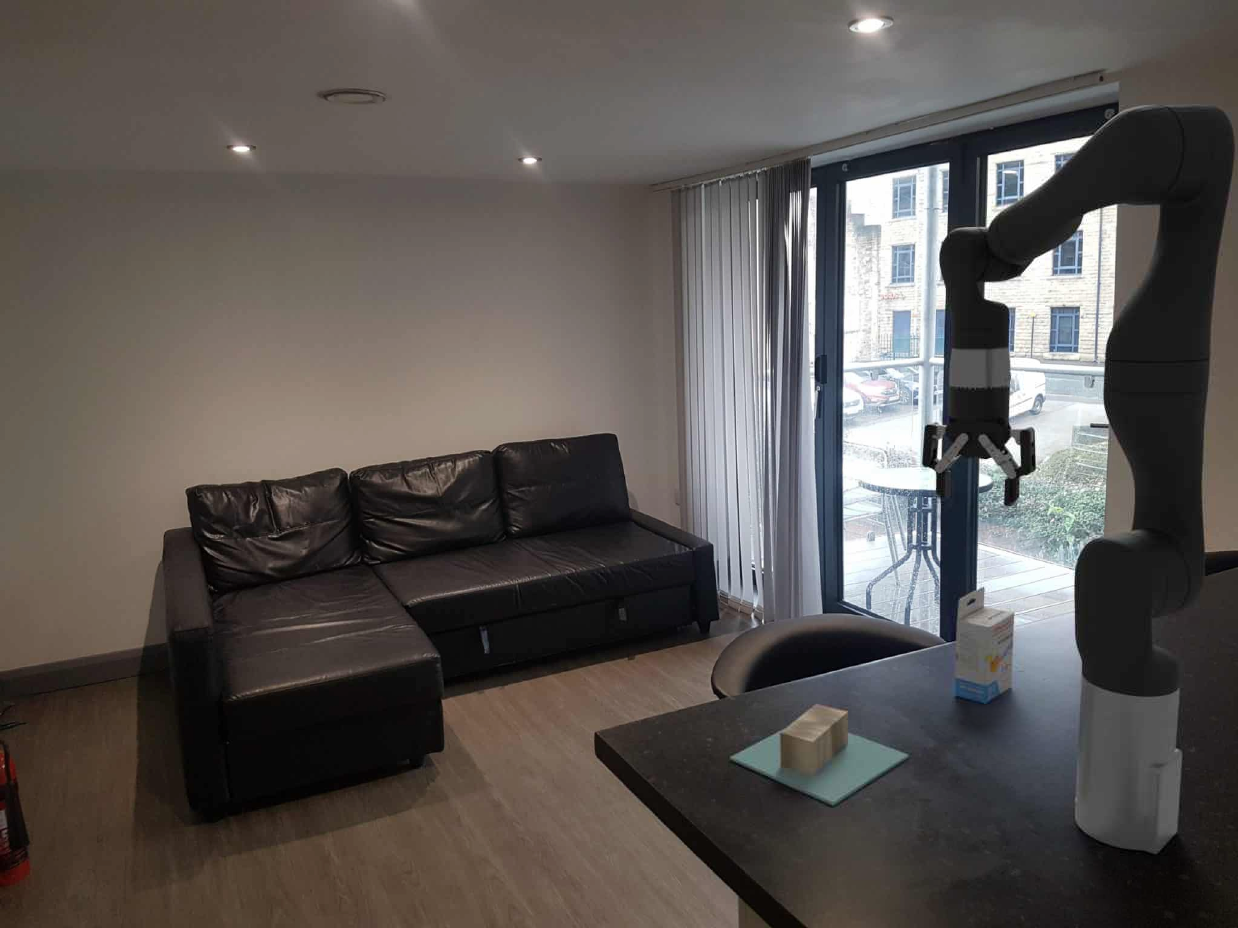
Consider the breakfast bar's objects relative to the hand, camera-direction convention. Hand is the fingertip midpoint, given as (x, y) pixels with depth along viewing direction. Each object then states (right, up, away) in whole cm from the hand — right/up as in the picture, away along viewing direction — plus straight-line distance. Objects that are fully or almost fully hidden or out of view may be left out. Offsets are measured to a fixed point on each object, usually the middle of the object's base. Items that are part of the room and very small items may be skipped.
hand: (976, 501), depth 128 cm
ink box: (+5, -29, +11) cm, 31 cm away
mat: (-23, -33, -6) cm, 40 cm away
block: (-20, -29, -3) cm, 36 cm away
